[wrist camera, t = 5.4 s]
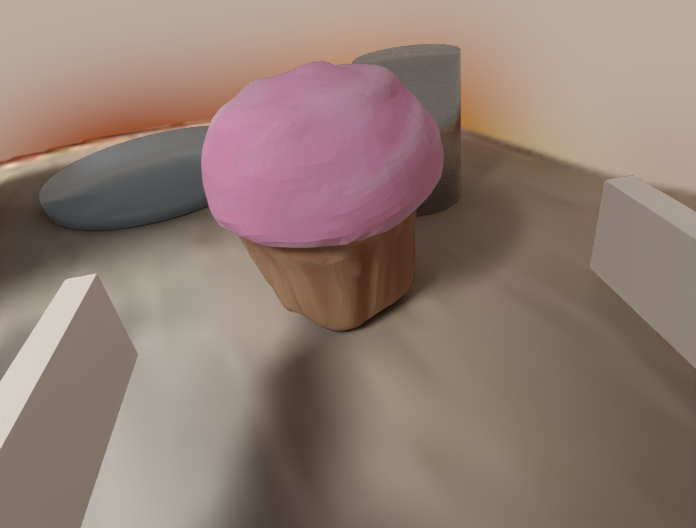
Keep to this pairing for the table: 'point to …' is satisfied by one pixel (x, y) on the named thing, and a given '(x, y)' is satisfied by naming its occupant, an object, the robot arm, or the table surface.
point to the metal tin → (432, 106)
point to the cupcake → (325, 185)
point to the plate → (130, 183)
